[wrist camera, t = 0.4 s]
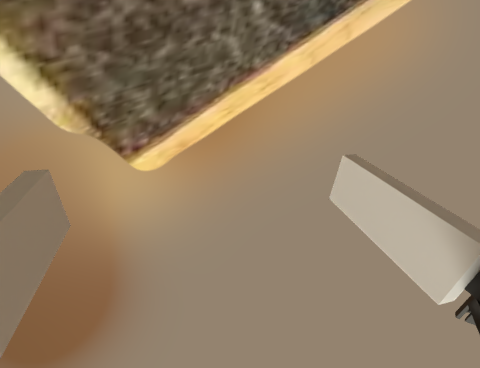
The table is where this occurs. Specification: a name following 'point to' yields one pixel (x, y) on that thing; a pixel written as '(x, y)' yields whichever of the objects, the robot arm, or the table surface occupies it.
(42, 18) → the table surface
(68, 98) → the table surface
